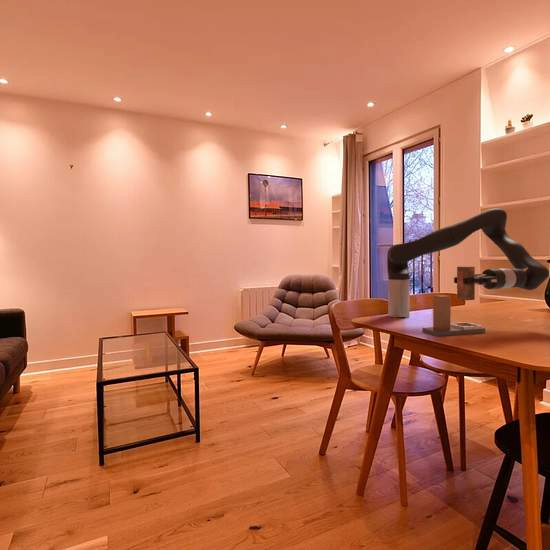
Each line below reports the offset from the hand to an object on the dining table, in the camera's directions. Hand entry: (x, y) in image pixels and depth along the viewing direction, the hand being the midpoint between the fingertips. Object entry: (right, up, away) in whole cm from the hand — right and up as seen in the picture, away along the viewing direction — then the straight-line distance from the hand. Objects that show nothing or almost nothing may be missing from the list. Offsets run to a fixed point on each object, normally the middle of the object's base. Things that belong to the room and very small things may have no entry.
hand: (459, 280), depth 133 cm
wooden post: (+3, -7, +1) cm, 8 cm away
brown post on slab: (-2, -19, 0) cm, 19 cm away
